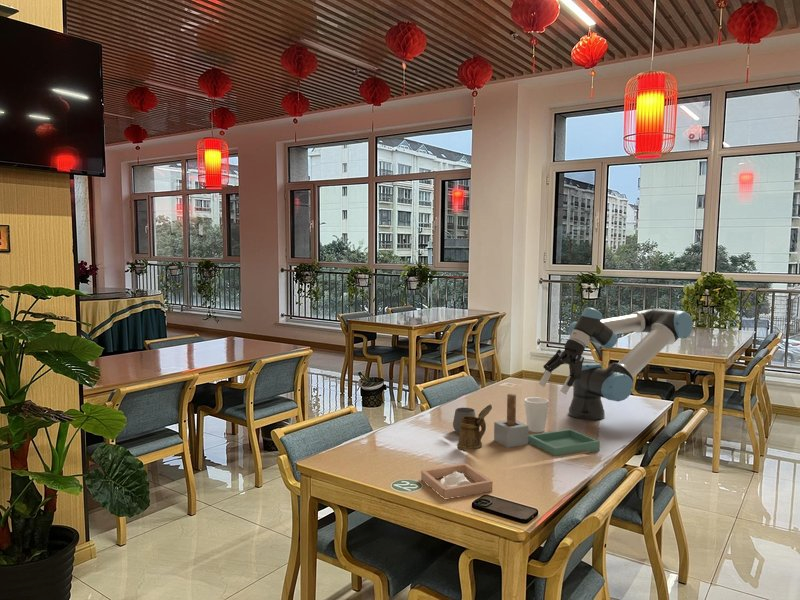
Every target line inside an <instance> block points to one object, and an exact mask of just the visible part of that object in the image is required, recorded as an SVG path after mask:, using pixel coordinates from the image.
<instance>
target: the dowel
mask: <svg viewBox="0 0 800 600" xmlns="http://www.w3.org/2000/svg"><path fill="white" fill-rule="evenodd" d="M506 396H507V397H506V420H507V425H508V426H516V420H517V416H516V415H517V394H515V393H507V395H506Z"/></svg>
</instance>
